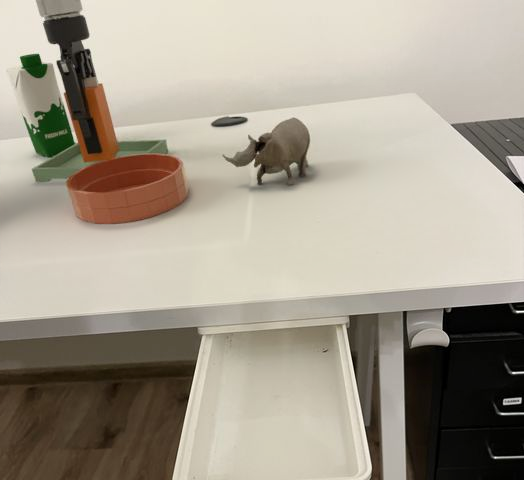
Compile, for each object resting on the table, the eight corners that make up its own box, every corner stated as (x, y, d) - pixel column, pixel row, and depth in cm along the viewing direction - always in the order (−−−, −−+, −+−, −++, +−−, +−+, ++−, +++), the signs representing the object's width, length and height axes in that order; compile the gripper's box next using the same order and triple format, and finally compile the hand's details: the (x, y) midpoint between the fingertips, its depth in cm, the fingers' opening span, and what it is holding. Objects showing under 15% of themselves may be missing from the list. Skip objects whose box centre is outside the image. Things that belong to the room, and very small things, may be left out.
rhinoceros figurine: (341, 152, 96) (295, 87, 86) (300, 216, 95) (247, 159, 85) (312, 149, 102) (264, 88, 92) (272, 210, 101) (220, 155, 91)
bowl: (54, 226, 89) (42, 193, 86) (111, 183, 104) (103, 154, 101) (160, 228, 84) (152, 193, 81) (204, 183, 99) (199, 152, 95)
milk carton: (46, 159, 123) (13, 60, 111) (30, 153, 128) (-3, 58, 117) (82, 148, 127) (53, 51, 115) (64, 143, 133) (36, 50, 121)
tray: (35, 181, 110) (31, 169, 109) (81, 153, 124) (78, 142, 122) (130, 180, 104) (127, 167, 103) (168, 151, 118) (165, 139, 116)
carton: (83, 162, 111) (60, 84, 102) (91, 153, 116) (70, 77, 107) (112, 159, 110) (91, 80, 102) (119, 150, 115) (100, 74, 106)
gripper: (67, 19, 90) (105, 160, 104) (97, 8, 106) (127, 133, 119) (23, 25, 91) (67, 164, 104) (59, 13, 106) (94, 136, 120)
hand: (99, 147), depth 112 cm, fingers closed on carton, 6 cm apart
